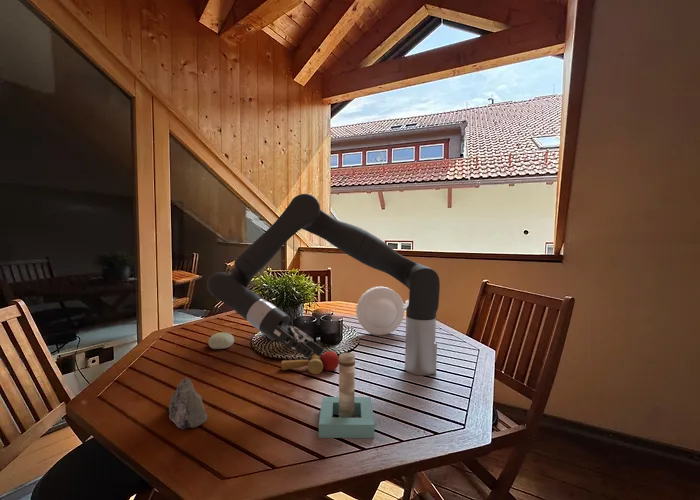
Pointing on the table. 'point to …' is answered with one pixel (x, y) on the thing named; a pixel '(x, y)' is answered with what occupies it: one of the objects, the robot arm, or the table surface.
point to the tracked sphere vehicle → (380, 310)
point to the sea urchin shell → (221, 340)
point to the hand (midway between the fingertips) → (316, 353)
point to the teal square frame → (346, 419)
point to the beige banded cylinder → (346, 385)
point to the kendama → (314, 363)
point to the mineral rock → (186, 406)
